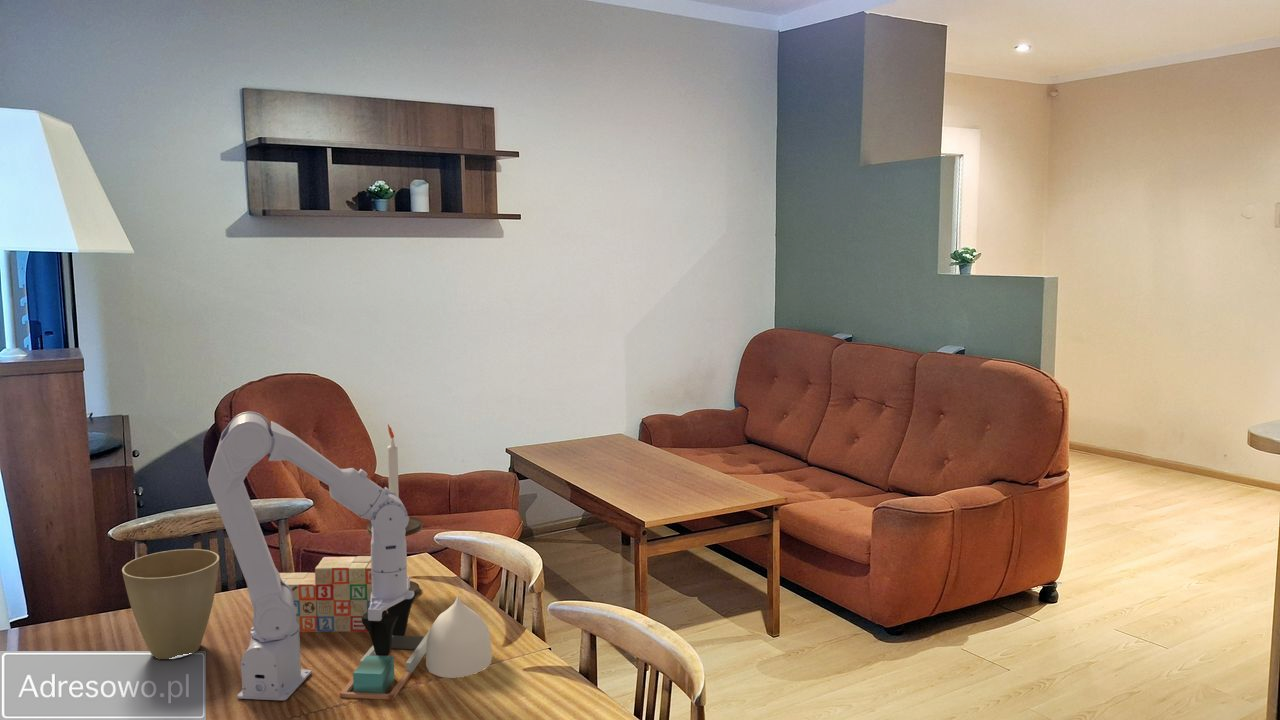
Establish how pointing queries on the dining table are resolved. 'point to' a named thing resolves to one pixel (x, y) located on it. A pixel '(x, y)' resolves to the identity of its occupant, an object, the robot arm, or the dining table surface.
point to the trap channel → (420, 649)
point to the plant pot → (172, 598)
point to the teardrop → (458, 643)
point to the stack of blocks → (332, 594)
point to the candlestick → (413, 523)
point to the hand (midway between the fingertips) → (390, 644)
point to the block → (374, 674)
